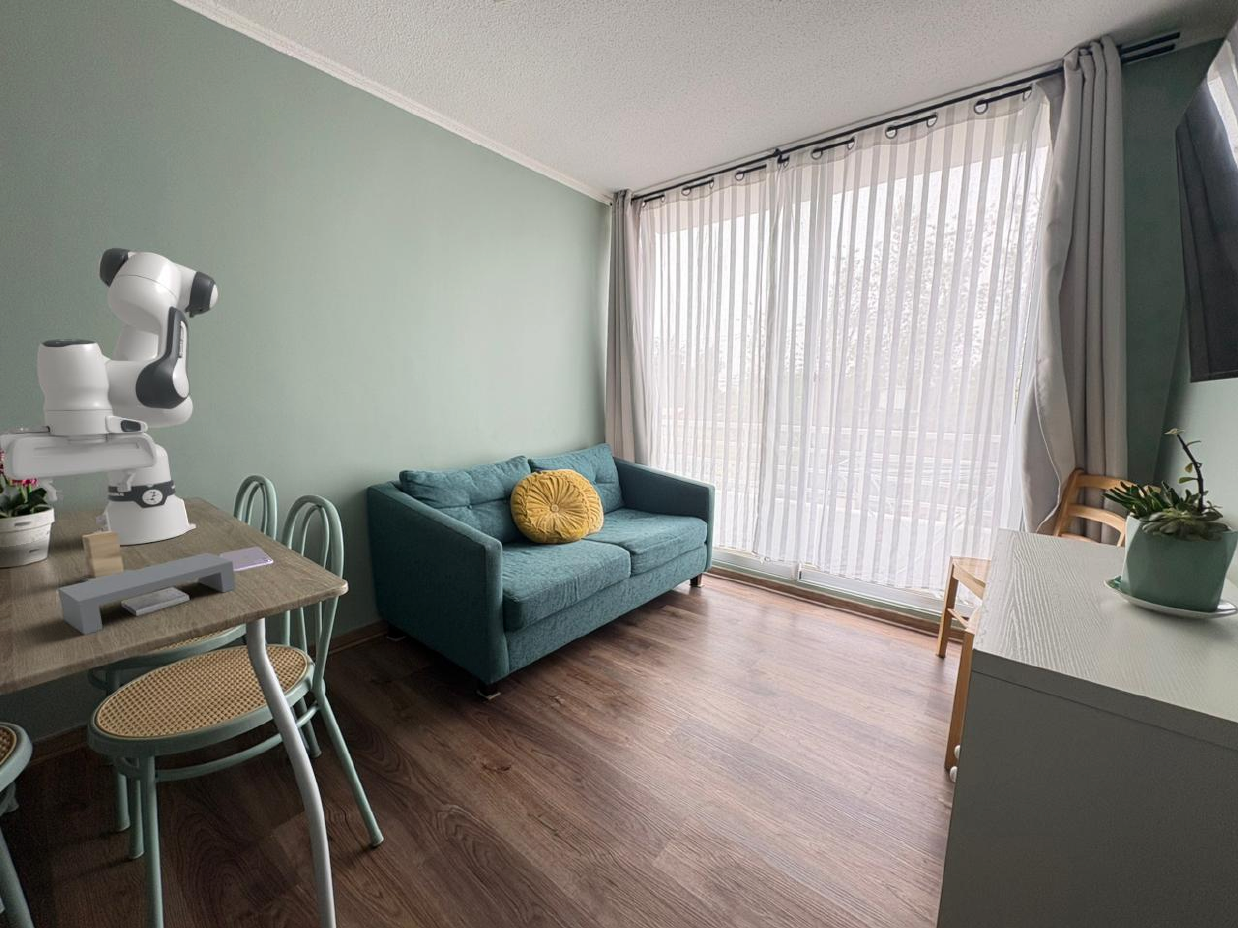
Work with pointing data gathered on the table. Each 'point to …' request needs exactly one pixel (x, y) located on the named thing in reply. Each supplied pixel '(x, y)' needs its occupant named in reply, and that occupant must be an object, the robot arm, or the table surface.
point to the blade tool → (102, 555)
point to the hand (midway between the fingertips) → (92, 495)
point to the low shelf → (140, 586)
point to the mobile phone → (247, 558)
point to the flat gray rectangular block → (154, 601)
